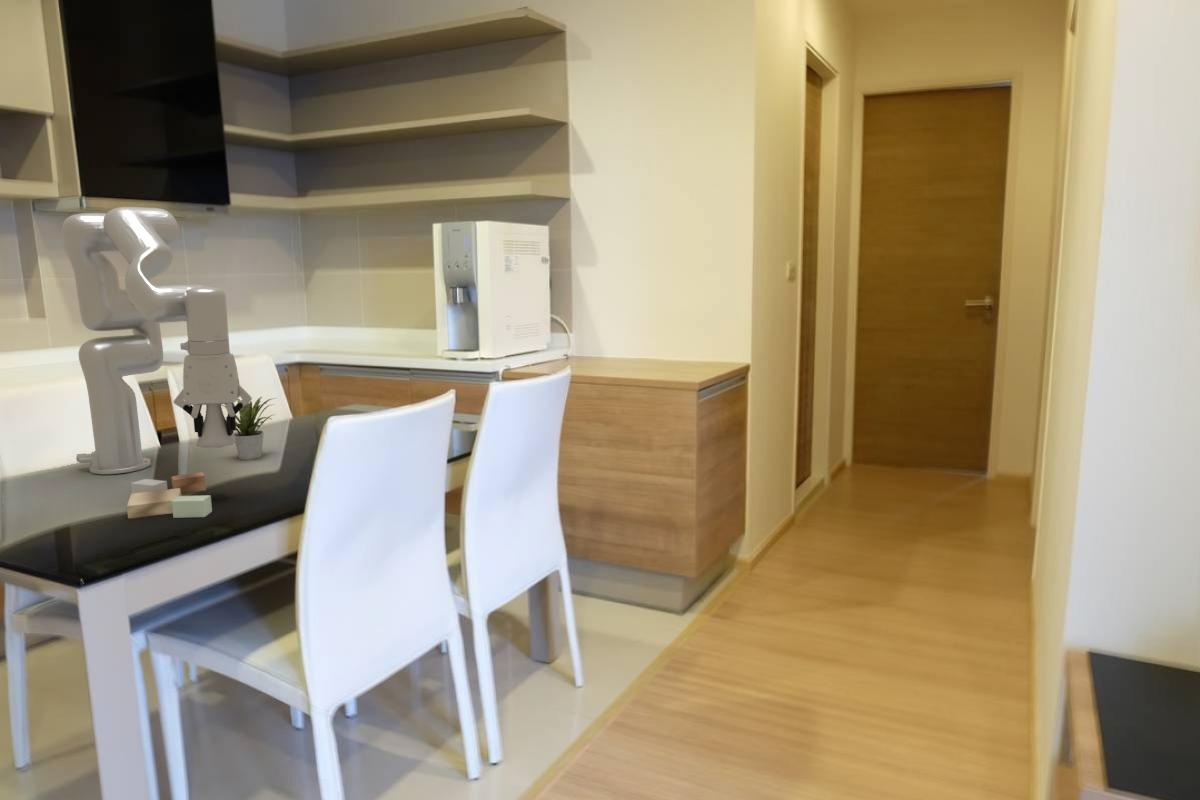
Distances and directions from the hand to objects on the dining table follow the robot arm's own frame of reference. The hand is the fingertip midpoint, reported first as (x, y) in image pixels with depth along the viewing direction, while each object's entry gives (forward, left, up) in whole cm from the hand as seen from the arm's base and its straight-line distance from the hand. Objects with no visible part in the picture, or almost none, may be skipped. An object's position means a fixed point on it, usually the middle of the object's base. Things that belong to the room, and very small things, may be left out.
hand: (215, 433), depth 167 cm
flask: (0, 0, -3) cm, 3 cm away
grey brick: (-15, +5, -14) cm, 21 cm away
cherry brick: (-8, +8, -14) cm, 18 cm away
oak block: (-12, -4, -14) cm, 19 cm away
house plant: (+2, +35, -14) cm, 37 cm away
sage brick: (-4, -10, -14) cm, 18 cm away
